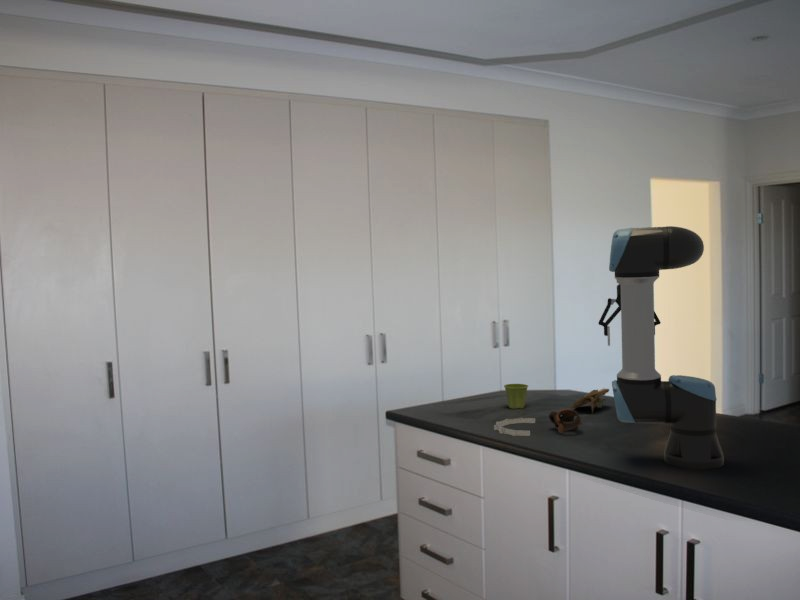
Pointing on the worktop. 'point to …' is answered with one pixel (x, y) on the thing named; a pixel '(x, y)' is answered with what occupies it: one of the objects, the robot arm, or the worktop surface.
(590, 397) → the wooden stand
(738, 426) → the worktop surface
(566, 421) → the pottery mug
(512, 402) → the plant pot
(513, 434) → the grey u-shaped piece
